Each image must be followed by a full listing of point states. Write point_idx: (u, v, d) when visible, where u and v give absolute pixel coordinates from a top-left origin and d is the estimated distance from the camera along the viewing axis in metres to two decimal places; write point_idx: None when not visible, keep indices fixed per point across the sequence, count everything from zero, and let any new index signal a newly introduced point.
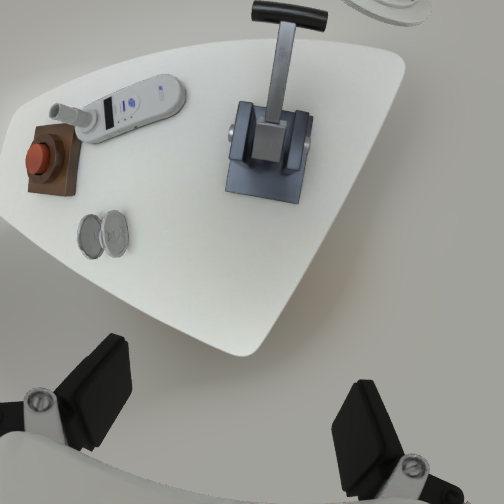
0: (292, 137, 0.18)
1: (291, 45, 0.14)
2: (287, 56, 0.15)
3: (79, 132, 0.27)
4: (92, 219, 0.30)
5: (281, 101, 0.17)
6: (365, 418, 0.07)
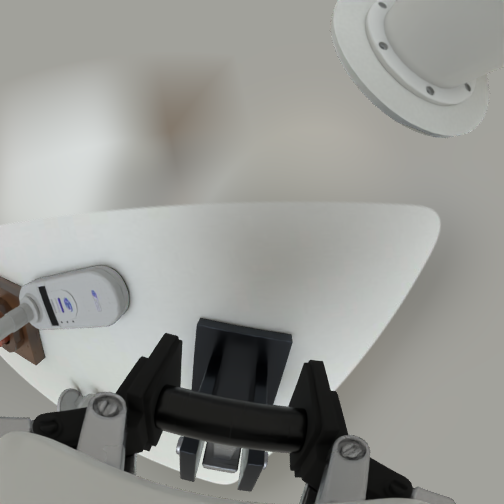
0: (243, 478, 0.13)
1: (236, 447, 0.09)
2: (231, 449, 0.10)
3: None
4: (68, 393, 0.25)
5: (229, 457, 0.12)
6: (308, 396, 0.08)
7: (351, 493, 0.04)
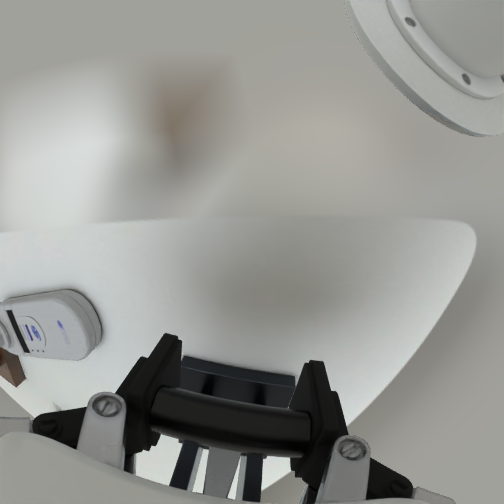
0: None
1: (232, 473, 0.08)
2: (226, 482, 0.08)
3: None
4: None
5: None
6: (309, 396, 0.08)
7: (351, 493, 0.04)
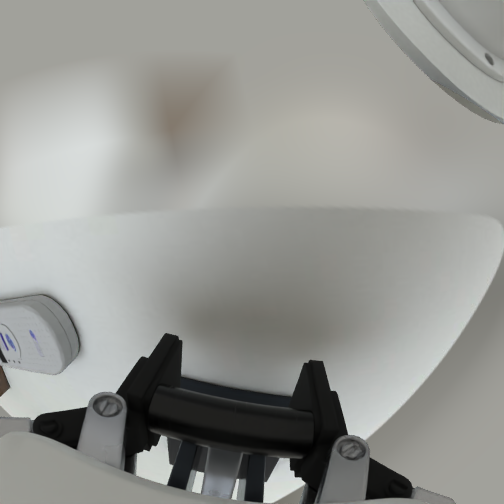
0: None
1: (232, 487, 0.07)
2: None
3: None
4: None
5: None
6: (308, 396, 0.08)
7: (351, 493, 0.04)
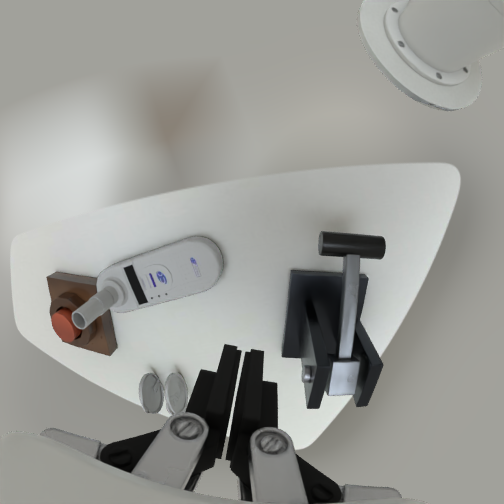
0: (365, 387, 0.17)
1: (358, 279, 0.19)
2: (355, 291, 0.19)
3: None
4: (147, 378, 0.31)
5: (352, 337, 0.19)
6: (240, 384, 0.09)
7: (257, 488, 0.05)
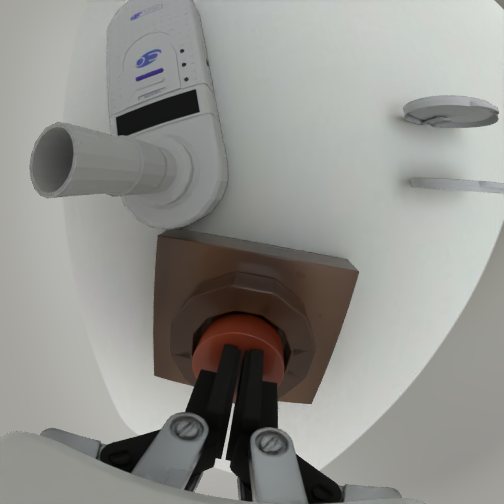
0: None
1: None
2: None
3: (187, 206, 0.12)
4: None
5: None
6: (240, 384, 0.09)
7: (257, 488, 0.05)
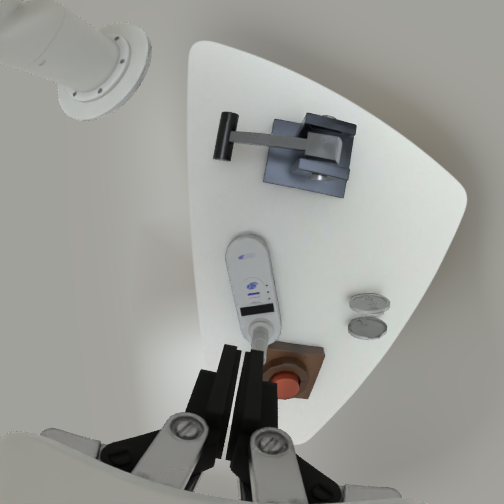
0: (330, 127, 0.20)
1: (246, 132, 0.25)
2: (255, 135, 0.24)
3: (269, 340, 0.35)
4: (352, 327, 0.35)
5: (290, 137, 0.23)
6: (240, 384, 0.09)
7: (257, 488, 0.05)
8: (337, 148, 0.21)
